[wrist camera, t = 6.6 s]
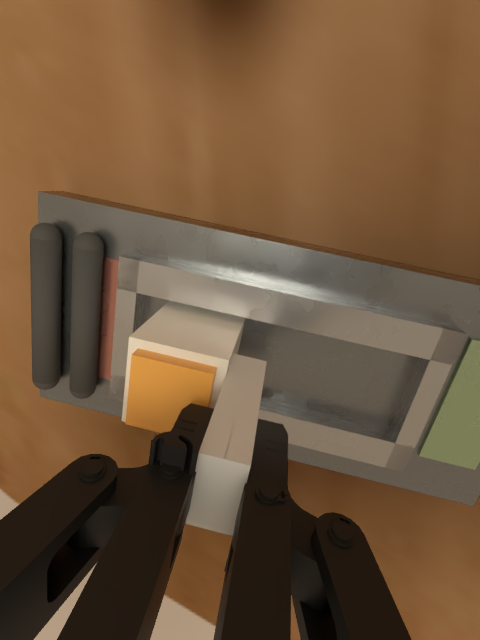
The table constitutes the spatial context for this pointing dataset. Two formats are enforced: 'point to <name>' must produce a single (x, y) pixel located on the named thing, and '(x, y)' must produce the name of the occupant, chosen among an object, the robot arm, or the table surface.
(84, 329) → the twin grey rollers
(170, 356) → the toggle
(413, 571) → the table surface
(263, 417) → the panel
